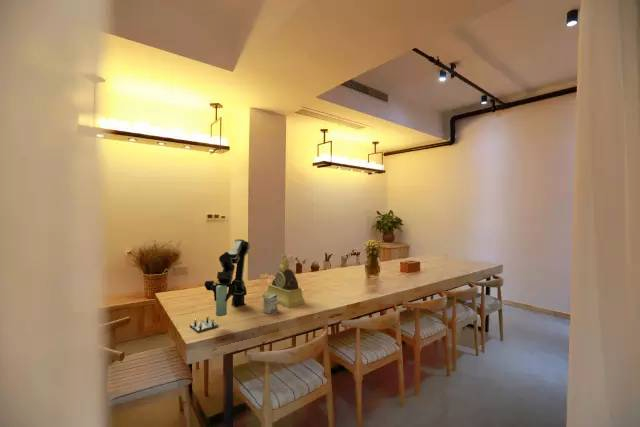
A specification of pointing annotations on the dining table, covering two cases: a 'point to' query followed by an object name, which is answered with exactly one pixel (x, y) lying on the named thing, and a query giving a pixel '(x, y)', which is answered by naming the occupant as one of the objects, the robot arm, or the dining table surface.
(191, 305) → the dining table surface
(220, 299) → the teal wooden post
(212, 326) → the plate
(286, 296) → the decorative clock
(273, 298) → the medicine box
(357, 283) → the dining table surface
